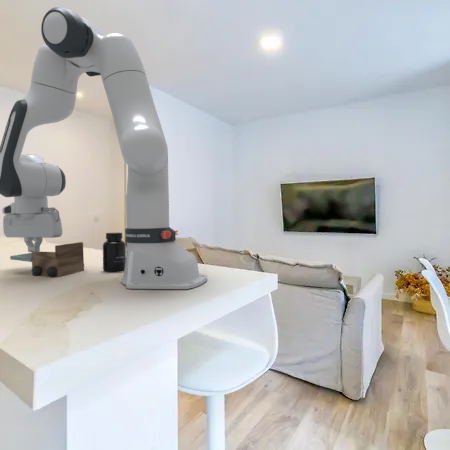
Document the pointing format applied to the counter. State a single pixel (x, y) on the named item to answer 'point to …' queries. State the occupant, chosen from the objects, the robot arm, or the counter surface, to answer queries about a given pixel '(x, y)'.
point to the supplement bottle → (114, 253)
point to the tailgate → (22, 257)
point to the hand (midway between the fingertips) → (34, 251)
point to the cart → (59, 261)
